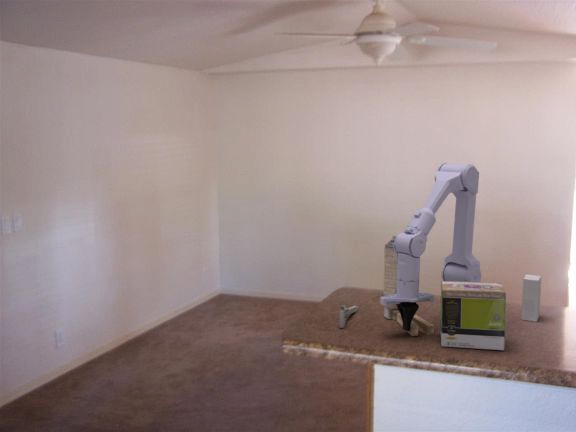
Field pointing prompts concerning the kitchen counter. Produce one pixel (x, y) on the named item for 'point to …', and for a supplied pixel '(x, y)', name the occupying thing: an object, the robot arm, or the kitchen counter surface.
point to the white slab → (387, 310)
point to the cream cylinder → (390, 269)
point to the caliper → (345, 314)
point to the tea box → (472, 315)
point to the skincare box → (531, 298)
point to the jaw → (413, 326)
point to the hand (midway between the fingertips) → (406, 329)
